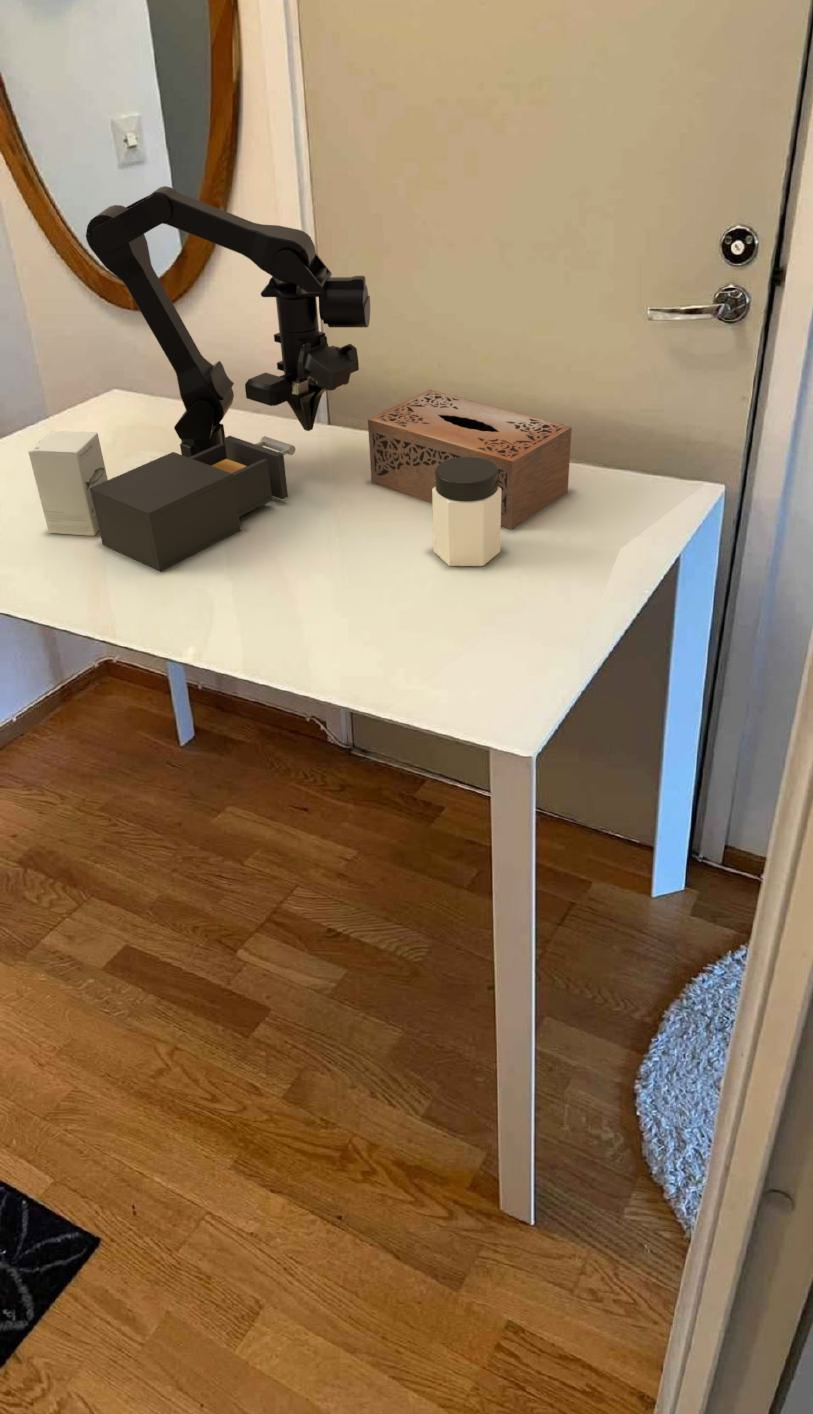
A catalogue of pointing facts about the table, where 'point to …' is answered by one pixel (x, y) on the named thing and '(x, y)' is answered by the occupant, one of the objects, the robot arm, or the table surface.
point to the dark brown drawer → (253, 469)
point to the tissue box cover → (470, 450)
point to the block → (229, 466)
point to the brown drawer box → (166, 510)
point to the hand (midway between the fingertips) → (308, 430)
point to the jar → (466, 511)
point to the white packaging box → (68, 480)
